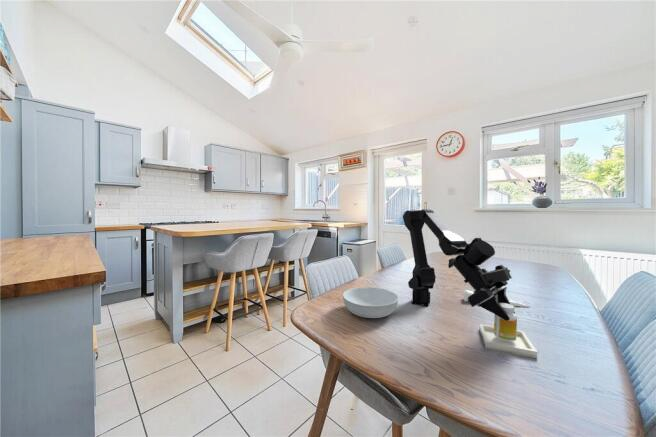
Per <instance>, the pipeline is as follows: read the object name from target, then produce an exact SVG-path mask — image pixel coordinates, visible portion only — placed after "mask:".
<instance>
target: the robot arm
mask: <svg viewBox="0 0 656 437" xmlns="http://www.w3.org/2000/svg"><path fill="white" fill-rule="evenodd" d="M402 220H403V223H404V226H405V228H406V229H407V230H408V231H409V235H410V240H411V241H410V242H411V248H412V254H413V261H414V267H413V269H412V277H411V278H410V279H409V280H408V282H407V283H408V287H409V288H410V290H412V292H411V294H412V295H411V296H412V298H411V300H412V301H411V304H412V305H419V306H424V307H429V305H430V304H431V291H430V290H432V289H434V285H435V283H436V278H437V276H436V273H435V268H434V267H431V265H429V263H428V258H427V257H428V256H427V253H426V246H425V241H424V235H423V228H424V226H425V225H426V226H427V228H429V230H430V231H431V233H433V235H434V236H435V237H436V238H437V240H438V246H439V248H440V249H441V251H442V253H443V255H445V256H448V257H450V256H456V257H455V258H453V257H452V258H450V259H448V264H447V265H448V266H447V268H448V269H451V268H452V267H454V268H455V269H456V270H457V272H458V273H459V274H460V275H461V276H462V277H463V279H464V280H463V282H464V283H465V284H467V283H468V284H469V285H470V286H471V288H472V289H473V290H474V291H473V292H474V294H472V295H471V296H469V297H468V302H467V303H468V304H469V305H470V306H471V307H472V308H474V307H475V306H478V307H480V308H482V309H484V310H486V311H488V312H490V313H492V314H493V315H497V316H499V317H501V318H502V319H504V320H506V321H508V320H510V318H509V316H508V315H507V313H506V312H505V311H504V309H503V308H502V306H501V305H500V304H499V303H507V304H510V302H509V299H508V296H507V285H508V284H509V283H508V281H510V280H511V279H512V278H513V277H512V275H511V269H509V268H508V267H506V266H504V265H503V264H499V265H496V266H495V267H494V269H493V270H490V271H488V270H487V269H486V268H481V267H480V266H481V265H483V264H484V263H485V262H487V260H488V261H489V259H491V258H492V257H493V256H495V254H496V251H495V248H494V247H493V246H492V245H491V244H490V243H489V242H487V241H485V240H483V239H482V237H474V238H473V239H472V241H471V242H470V243H468V242H467V241H466V240H465V239H464V238H463V237H461V236H460V235H458V234H457V233H454V232H452V231H451V230H450V229H449V228H448V227H447V226H446V225H445V224H444V223H443V222H442V221H441V220H440V219H439V216H437V215H436V214H435V212H434V210H432V209H425V208H424V209H419V210H417V209H416V210H406V211H404V213H403V214H402ZM510 305H511V304H510ZM513 313H514V314H516V312H515V310H514V312H513Z"/></svg>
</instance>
